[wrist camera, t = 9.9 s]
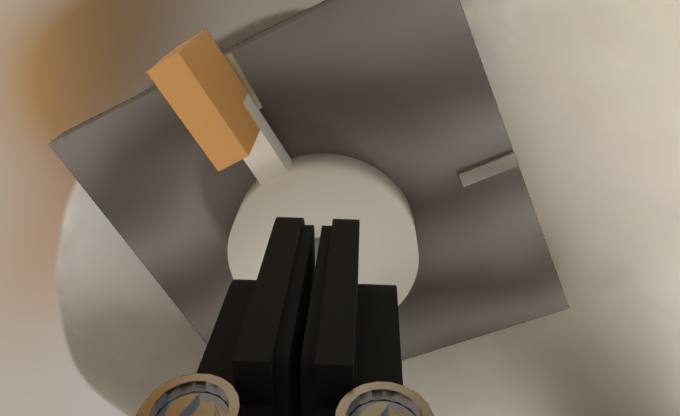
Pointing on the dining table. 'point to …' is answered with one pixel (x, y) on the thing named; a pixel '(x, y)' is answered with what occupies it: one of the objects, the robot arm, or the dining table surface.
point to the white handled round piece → (285, 172)
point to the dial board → (349, 140)
